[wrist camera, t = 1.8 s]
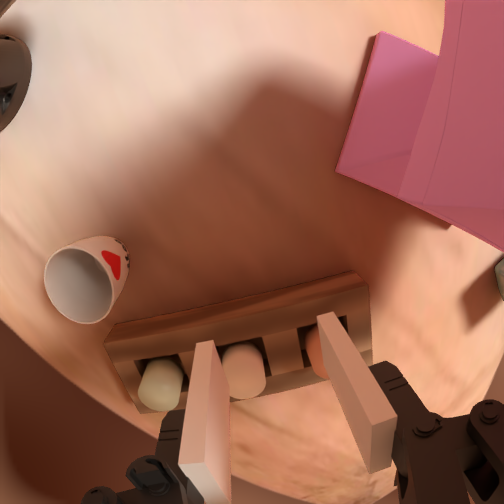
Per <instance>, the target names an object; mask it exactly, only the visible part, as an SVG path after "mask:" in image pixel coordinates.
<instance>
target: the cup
mask: <svg viewBox="0 0 504 504" xmlns="http://www.w3.org/2000/svg"><path fill="white" fill-rule="evenodd" d="M129 264H130V256H129V252H128V249H127V248H126V246H125V245H124V244H123V243H122V242H121V241H120V240H118V239H116V238H113V237H108V236H95V237H90V238H85V239H81V240H78V241H76V242H74V243H72V244H69V245H67V246H65V247H63V248H60V249H58V250H57V251H55V252H54V253H53V254H52V255H51V256H50V258H49V259H48V261H47V263H46V266H45V270H44V284H45V288H46V292H47V294H48V297H49V299H50V301H51V302H52V304H53V305H54V307H55V308H56V309H57V310H58V311H59V312H60V313H61V314H62V315H63V316H65V317H66V318H68V319H70V320H72V321H74V322H77V323H80V324H93V323H97V322H99V321H101V320H102V319H104V318H105V317H106V316H107V315H108V314H109V312H110V310H111V309H112V307H113V305H114V304H115V302H116V300H117V299H118V297H119V295H120V294H121V292H122V290H123V287H124V284H125V282H126V279H127V276H128V273H129Z"/></svg>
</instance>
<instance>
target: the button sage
mask: <svg viewBox="0 0 504 504" xmlns="http://www.w3.org/2000/svg"><path fill="white" fill-rule="evenodd" d="M183 376H184V372H183V369H182V367H181V365H180V364H179V363H178V362H177V361H175V360H174V359H172V358H169V357H164V356H159V357H155V358H153V359H151V360H150V361H149V362H148V364H147V367H146V369H145V372H144V375H143V378H142V381H141V383H140V386H139V389H138V396H139V399H140V400H141V402H142V403H143V404H144V405H145V406H147V407H148V408H150V409H153V410H156V411H170V410H172V409H174V408H175V407H176V406H177V405H178V402H179V397H180V392H181V386H182V381H183Z"/></svg>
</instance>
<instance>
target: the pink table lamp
mask: <svg viewBox="0 0 504 504" xmlns="http://www.w3.org/2000/svg"><path fill="white" fill-rule="evenodd" d="M335 172H337V173H340V174H342V175H345V176H347V177H349V178H352V179H354V180H357V181H359V182H362V183H364V184H366V185H369V186H371V187H373V188H376V189H378V190H380V191H383V192H385V193H387V194H389V195H392V196H394V197H396V198H398V199H400V200H402V201H404V202H407V203H409V204H411V205H413V206H415V207H417V208H419V209H421V210H424V211H426V212H428V213H430V214H432V215H434V216H436V217H438V218H440V219H442V220H444V221H446V222H448V223H450V224H452V225H454V226H456V227H458V228H460V229H462V230H464V231H466V232H468V233H470V234H471V235H473V236H475V237H477V238H479V239H481V240H483V241H485V242H486V243H488V244H490V245H492V246H493V247H495V248H497V249H499V250H500V251H502V252H504V0H445V18H444V30H443V36H442V42H441V48H440V54H439V56H437V55H435V54H433V53H431V52H429V51H427V50H425V49H423V48H421V47H419V46H417V45H415V44H412V43H410V42H408V41H406V40H403V39H401V38H399V37H396V36H394V35H391V34H389V33H386V32H384V31H381V32H379V33H378V34H377V35H376V38H375V42H374V45H373V49H372V52H371V56H370V59H369V63H368V67H367V70H366V73H365V77H364V80H363V84H362V87H361V90H360V94H359V97H358V100H357V104H356V107H355V110H354V113H353V116H352V120H351V123H350V126H349V129H348V132H347V135H346V138H345V142H344V145H343V148H342V151H341V154H340V157H339V160H338V163H337V166H336V169H335Z"/></svg>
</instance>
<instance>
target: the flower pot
mask: <svg viewBox="0 0 504 504" xmlns="http://www.w3.org/2000/svg"><path fill="white" fill-rule="evenodd" d="M495 274H496V278H497V283H498V288H499V291H500V294H501V296H502V299H503V301H504V258H503V259H502V260H501V261H500V262H499V263H498V264H497V265H496V266H495Z"/></svg>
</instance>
